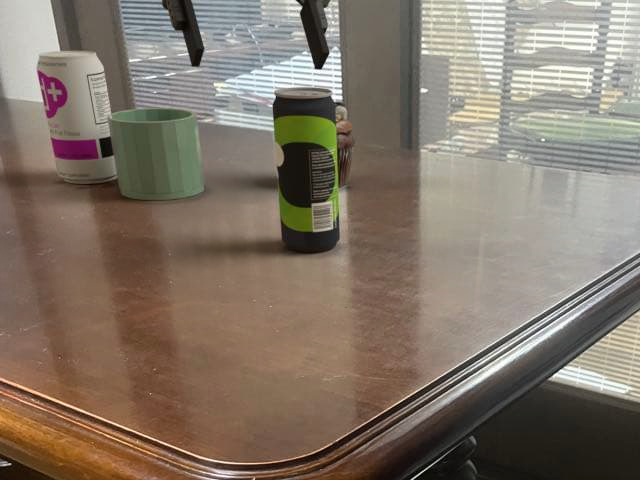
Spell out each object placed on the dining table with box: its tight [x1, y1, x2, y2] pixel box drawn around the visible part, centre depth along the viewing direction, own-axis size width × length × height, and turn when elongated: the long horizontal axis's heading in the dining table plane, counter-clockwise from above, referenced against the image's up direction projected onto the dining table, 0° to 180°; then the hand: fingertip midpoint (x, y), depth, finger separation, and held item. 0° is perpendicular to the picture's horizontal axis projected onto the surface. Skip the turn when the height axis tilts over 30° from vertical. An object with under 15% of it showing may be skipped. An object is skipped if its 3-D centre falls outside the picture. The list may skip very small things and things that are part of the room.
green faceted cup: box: [107, 107, 206, 201], centre depth 112 cm, size 11×11×9 cm
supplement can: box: [36, 50, 118, 185], centre depth 116 cm, size 8×8×15 cm
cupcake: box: [334, 101, 356, 188], centre depth 116 cm, size 10×10×10 cm
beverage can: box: [272, 86, 341, 254], centre depth 90 cm, size 6×6×15 cm
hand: (262, 60), depth 90 cm, fingers open, 13 cm apart
